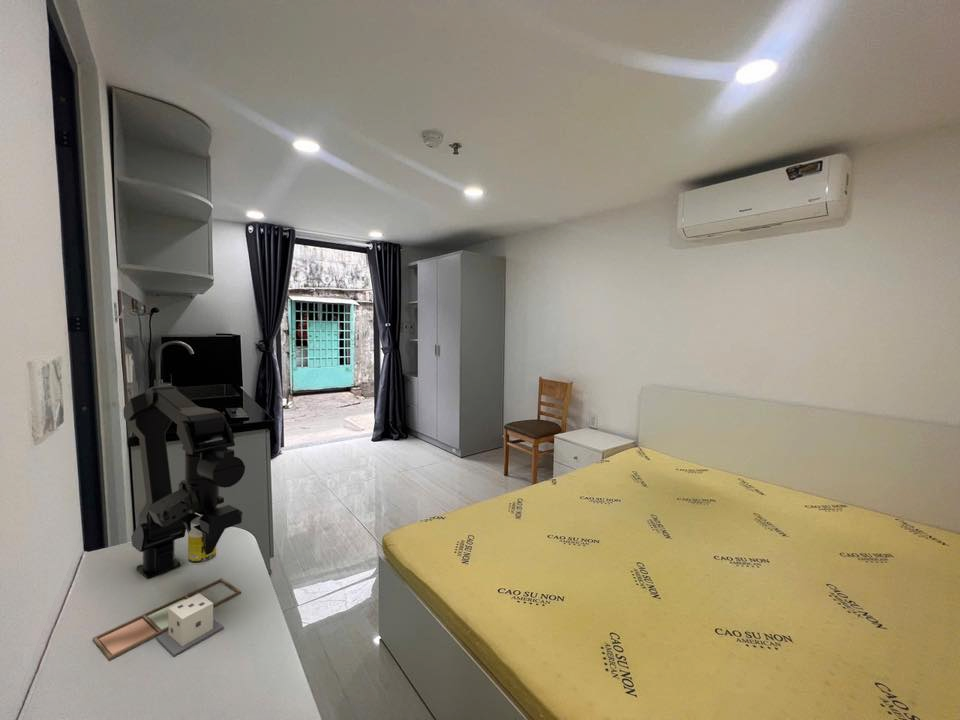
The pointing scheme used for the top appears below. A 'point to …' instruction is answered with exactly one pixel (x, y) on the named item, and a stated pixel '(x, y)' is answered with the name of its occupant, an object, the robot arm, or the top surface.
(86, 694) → the top surface
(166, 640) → the mat
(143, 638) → the tray
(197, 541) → the supplement bottle
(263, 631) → the top surface
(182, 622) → the die
